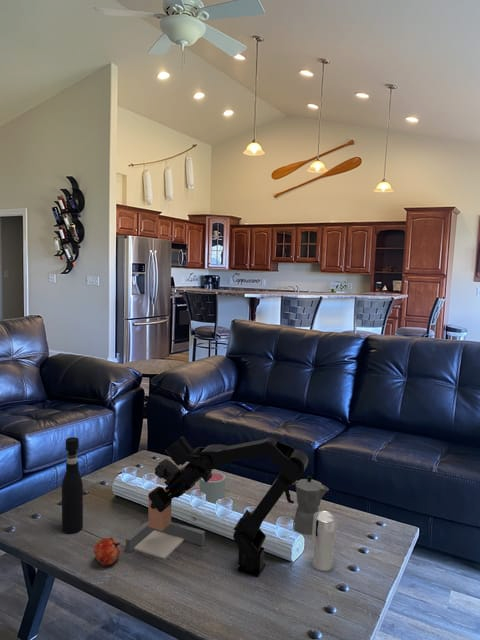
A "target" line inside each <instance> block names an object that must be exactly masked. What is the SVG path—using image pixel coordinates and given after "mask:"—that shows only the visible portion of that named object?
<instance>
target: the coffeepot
mask: <svg viewBox="0 0 480 640" xmlns="http://www.w3.org/2000/svg"><path fill="white" fill-rule="evenodd" d="M290 486H292V487H295V492H296V493H295V494H296V502H297V507H296V510H295V511H296V512H295V516H294V519H293V523H295V528H294V530H295V531H296V532H298V531H299V532H298V533H300V534H304V535H312V526H313V518H314V514H315V513H316V512H318V511H319V506H320V505H321V500H322V499H323V497H324V495H325V494H326V493H327V492H330V491H329V490H330V489H329V487H327V486H325V485H324V484H323V483H322V482H320V481H318V480H315V479H313V477H312V475H307V476H306V478H301V479H298V480H296V481H295V482H294V483H293V484H291V485H290ZM290 486H289V487H290ZM289 487H287V489H286V490H285V491H284V494H285V499H286V501H287V503H289V504H292V505H293V504H294V503H295V501H294V500H292V499H291V494H290V493H291V492H290V488H289Z"/></svg>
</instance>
